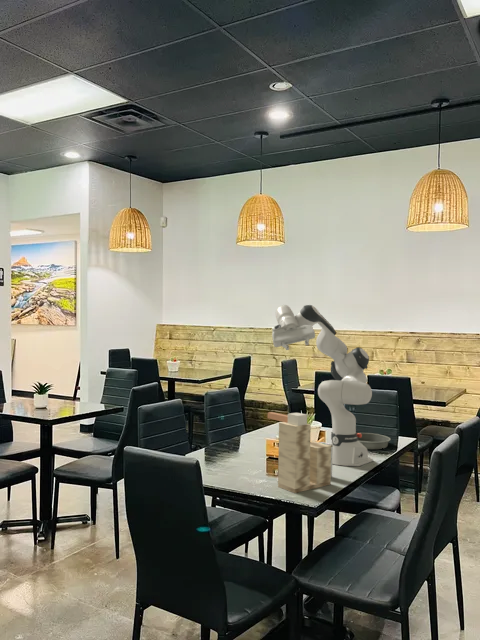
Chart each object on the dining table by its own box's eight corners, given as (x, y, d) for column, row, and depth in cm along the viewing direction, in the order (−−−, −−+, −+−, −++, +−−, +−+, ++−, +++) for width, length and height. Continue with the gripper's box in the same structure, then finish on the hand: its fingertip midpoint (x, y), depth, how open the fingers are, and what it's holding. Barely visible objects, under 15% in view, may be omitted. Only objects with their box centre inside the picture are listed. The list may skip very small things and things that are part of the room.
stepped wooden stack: (313, 478, 241) (314, 418, 241) (330, 484, 233) (331, 421, 233) (278, 486, 229) (279, 422, 229) (294, 493, 221) (295, 426, 221)
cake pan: (382, 452, 293) (382, 443, 293) (337, 446, 306) (337, 438, 306) (396, 444, 314) (396, 435, 314) (353, 438, 327) (353, 430, 327)
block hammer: (274, 417, 241) (274, 408, 241) (307, 424, 226) (307, 414, 226) (265, 418, 238) (265, 409, 238) (297, 426, 223) (298, 415, 223)
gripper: (311, 328, 275) (319, 346, 264) (270, 338, 274) (277, 356, 263) (310, 318, 271) (318, 336, 260) (269, 328, 270) (275, 346, 259)
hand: (297, 346), depth 262 cm, fingers open, 8 cm apart
